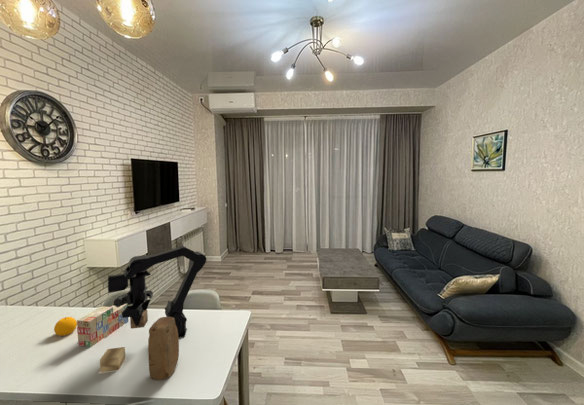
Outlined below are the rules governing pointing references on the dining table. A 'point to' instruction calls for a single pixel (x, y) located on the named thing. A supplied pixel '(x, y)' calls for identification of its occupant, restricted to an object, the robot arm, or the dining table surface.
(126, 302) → the robot arm
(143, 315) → the walnut cube
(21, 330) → the dining table surface
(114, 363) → the oak base block
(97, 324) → the stack of blocks
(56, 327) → the orange
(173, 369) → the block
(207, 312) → the dining table surface
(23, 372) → the dining table surface
